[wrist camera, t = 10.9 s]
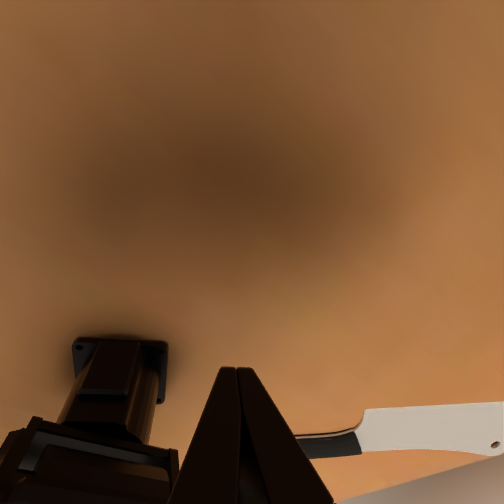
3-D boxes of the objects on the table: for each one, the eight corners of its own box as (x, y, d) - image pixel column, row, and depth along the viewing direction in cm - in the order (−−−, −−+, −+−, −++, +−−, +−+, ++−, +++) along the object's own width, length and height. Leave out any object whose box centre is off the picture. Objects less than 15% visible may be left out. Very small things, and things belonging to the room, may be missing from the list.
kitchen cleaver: (551, 393, 31) (511, 461, 35) (534, 379, 32) (498, 446, 36) (235, 402, 27) (229, 478, 30) (234, 386, 28) (228, 461, 32)
